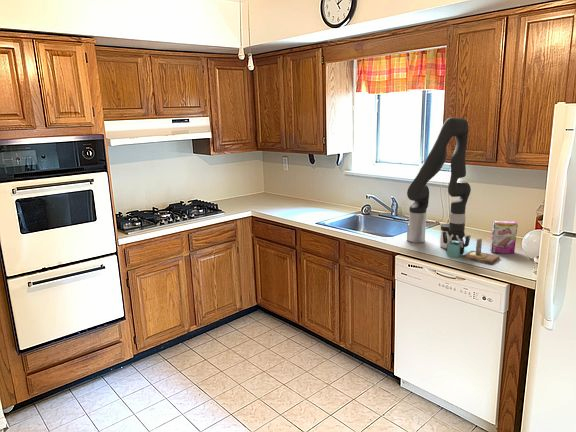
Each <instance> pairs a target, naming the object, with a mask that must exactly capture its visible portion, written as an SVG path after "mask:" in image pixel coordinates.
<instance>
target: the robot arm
mask: <svg viewBox="0 0 576 432" xmlns="http://www.w3.org/2000/svg"><path fill="white" fill-rule="evenodd" d="M468 136H469V122H468V120H467V119H466V118H463V117H449V118H447V119H446V120H445V121H444V123H443V125H442V127H441V128H440V131H439V134H438V136H437V138H436V140H435V142H434V144H433V146H432V148H431V150H430V152H429V153H428V154H427V157H426V158H425V160H424V162H423V164H422V166H421V168H419V169H420V170H419V171H418V173H417V175H416V176H415V178H414V179H413V181H412V182H411V184H410V185H409V186H408V188H407V192H406V195H407V198H408V199H409V200H410V201H413V203H412V204H411V205H410V206H409V211H408V213H409V215H408V217H409V218H408V224H407V226H406V228H407V229H406V241H408V242H410V243H415V244H419V243H420V244H421V243H425V241H426V227H427V226H426V224H427V209H428V208H429V200H430V188H429V186H428V185H427V183H428V182H429V181H430V180H432V179H433V178H434V177H435V176H436V175H437V174H438V173H439V172H440V171H441V169H442V168H443V166H444V164H445V163H446V160H447V146H448V144H449V142H450V141H451V140H452V138H453V137H455V141H456V145H455V148H454V152H453V153H452V155H451V159H450V179H449V184H448V187H447V192H448V195H449V196H450V197H453V198H458V197H459V198H458V199H456V200H453V201H452V202H451V203H450V214H449V221H448V222H449V223H448V224H449V231H448V232H447V231H444V232H443V242H444V243H446V244H448V243H450V242H452V241H453V240H455V241H456V242H459V244H460V246H461V247H460V254H463V255H464V253H465V248H467V247H469V245H470V240H471V235H470V234H469V235H467V234H466V233H465V230H466V229H465V228H466V208H467V203H468V200H469V198H470V197H469V196H470V194H471V190H472V189H471V188H472V187H471V185H470V184H469V182H458V180H460V179H463V178H465V177H466V176H467V168H466V166H467V163H466V154H467V144H468ZM447 235H449V236H450V238H449V240H447ZM464 239H465V240H464Z"/></svg>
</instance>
